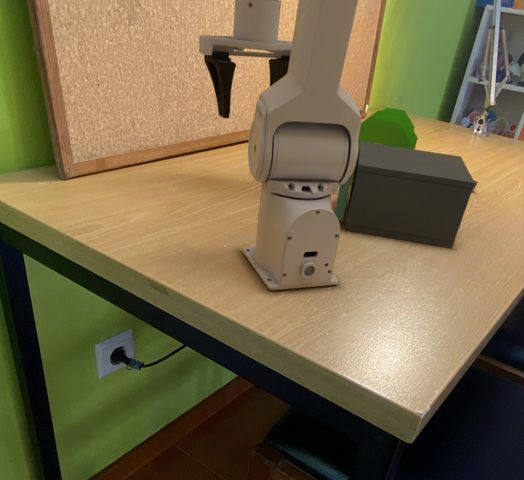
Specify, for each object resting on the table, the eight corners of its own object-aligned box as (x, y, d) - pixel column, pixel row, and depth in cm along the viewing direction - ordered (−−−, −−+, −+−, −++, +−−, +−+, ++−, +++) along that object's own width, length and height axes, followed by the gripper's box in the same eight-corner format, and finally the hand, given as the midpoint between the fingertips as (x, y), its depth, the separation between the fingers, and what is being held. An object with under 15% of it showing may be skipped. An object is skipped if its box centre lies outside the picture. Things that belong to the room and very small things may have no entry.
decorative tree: (359, 110, 71) (390, 77, 93) (317, 178, 78) (355, 133, 101) (425, 156, 71) (440, 112, 94) (377, 220, 79) (402, 165, 101)
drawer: (300, 214, 67) (308, 162, 63) (308, 189, 76) (316, 142, 72) (432, 236, 66) (448, 184, 62) (425, 207, 75) (439, 161, 71)
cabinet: (344, 230, 67) (358, 164, 62) (348, 200, 77) (360, 141, 72) (452, 248, 66) (475, 182, 61) (441, 215, 75) (461, 156, 70)
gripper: (293, 1, 68) (281, 110, 76) (191, -11, 62) (189, 109, 70) (320, 5, 63) (304, 121, 71) (213, -7, 57) (208, 122, 65)
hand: (249, 116), depth 70 cm, fingers open, 7 cm apart
